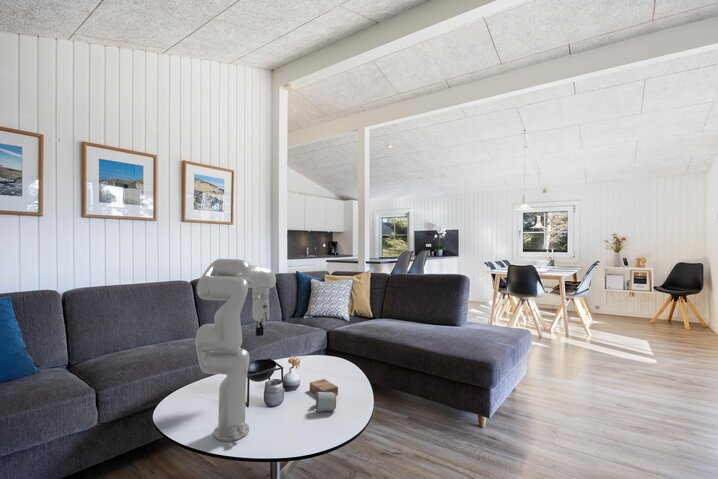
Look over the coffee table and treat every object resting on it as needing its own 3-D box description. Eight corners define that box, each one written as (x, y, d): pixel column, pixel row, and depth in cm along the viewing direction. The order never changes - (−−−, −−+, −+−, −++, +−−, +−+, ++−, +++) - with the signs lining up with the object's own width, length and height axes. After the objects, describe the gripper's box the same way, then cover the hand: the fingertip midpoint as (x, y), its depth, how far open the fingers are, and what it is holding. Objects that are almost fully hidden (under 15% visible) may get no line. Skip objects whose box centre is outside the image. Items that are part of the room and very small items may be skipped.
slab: (323, 387, 181) (337, 395, 171) (309, 391, 176) (323, 400, 166) (323, 378, 181) (338, 387, 171) (309, 382, 176) (323, 391, 166)
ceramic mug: (336, 413, 155) (337, 395, 156) (317, 414, 154) (317, 396, 154) (332, 402, 166) (333, 385, 166) (314, 404, 164) (315, 386, 164)
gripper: (275, 298, 170) (273, 337, 170) (261, 293, 181) (260, 330, 182) (259, 299, 165) (258, 340, 165) (246, 294, 177) (245, 332, 177)
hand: (259, 335), depth 173 cm, fingers closed
